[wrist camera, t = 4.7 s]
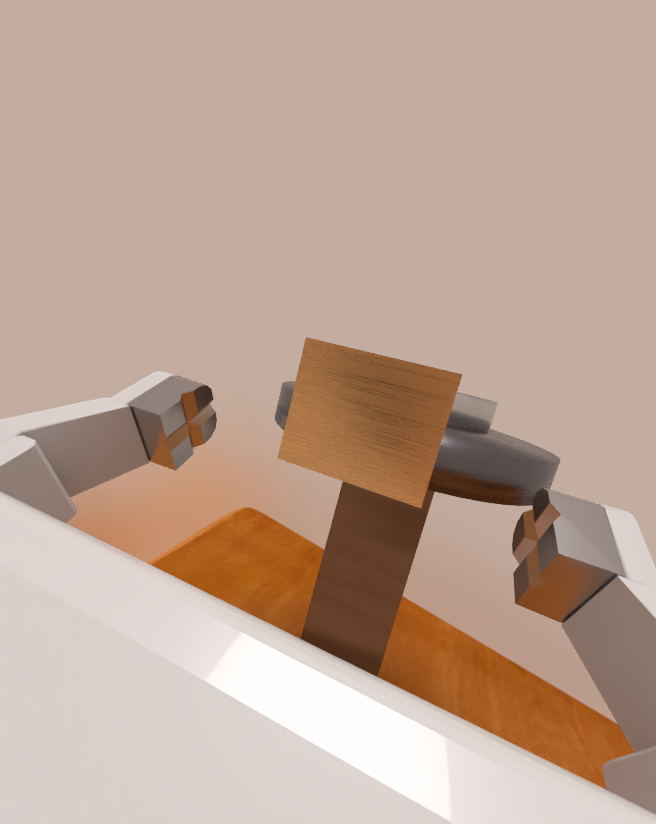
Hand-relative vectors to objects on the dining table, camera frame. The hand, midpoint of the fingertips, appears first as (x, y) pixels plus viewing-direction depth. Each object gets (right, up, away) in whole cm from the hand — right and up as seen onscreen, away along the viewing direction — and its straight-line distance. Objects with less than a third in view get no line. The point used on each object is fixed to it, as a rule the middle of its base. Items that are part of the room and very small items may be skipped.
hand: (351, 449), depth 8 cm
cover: (+3, +1, +9) cm, 10 cm away
